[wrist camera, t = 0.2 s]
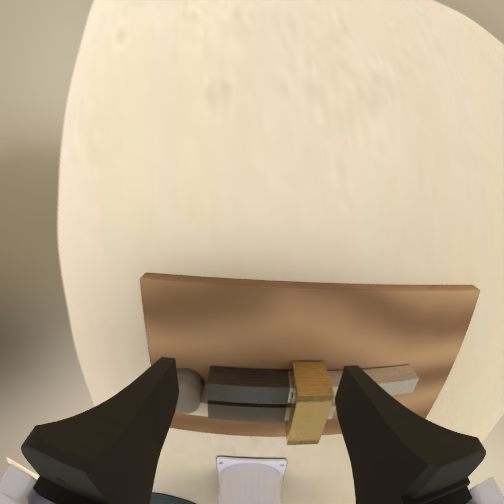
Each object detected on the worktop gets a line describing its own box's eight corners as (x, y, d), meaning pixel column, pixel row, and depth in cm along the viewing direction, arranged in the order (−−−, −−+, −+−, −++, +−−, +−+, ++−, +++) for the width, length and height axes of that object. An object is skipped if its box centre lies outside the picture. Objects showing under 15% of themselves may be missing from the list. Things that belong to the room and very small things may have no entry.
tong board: (420, 412, 25) (433, 434, 21) (166, 418, 25) (158, 445, 21) (472, 285, 20) (497, 301, 17) (145, 272, 20) (125, 293, 17)
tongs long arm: (403, 379, 21) (412, 393, 19) (210, 382, 21) (207, 400, 19) (410, 363, 21) (419, 377, 19) (210, 366, 21) (206, 383, 19)
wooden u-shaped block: (311, 410, 22) (318, 443, 18) (283, 411, 22) (286, 444, 19) (324, 361, 21) (334, 395, 17) (292, 361, 21) (298, 396, 17)
